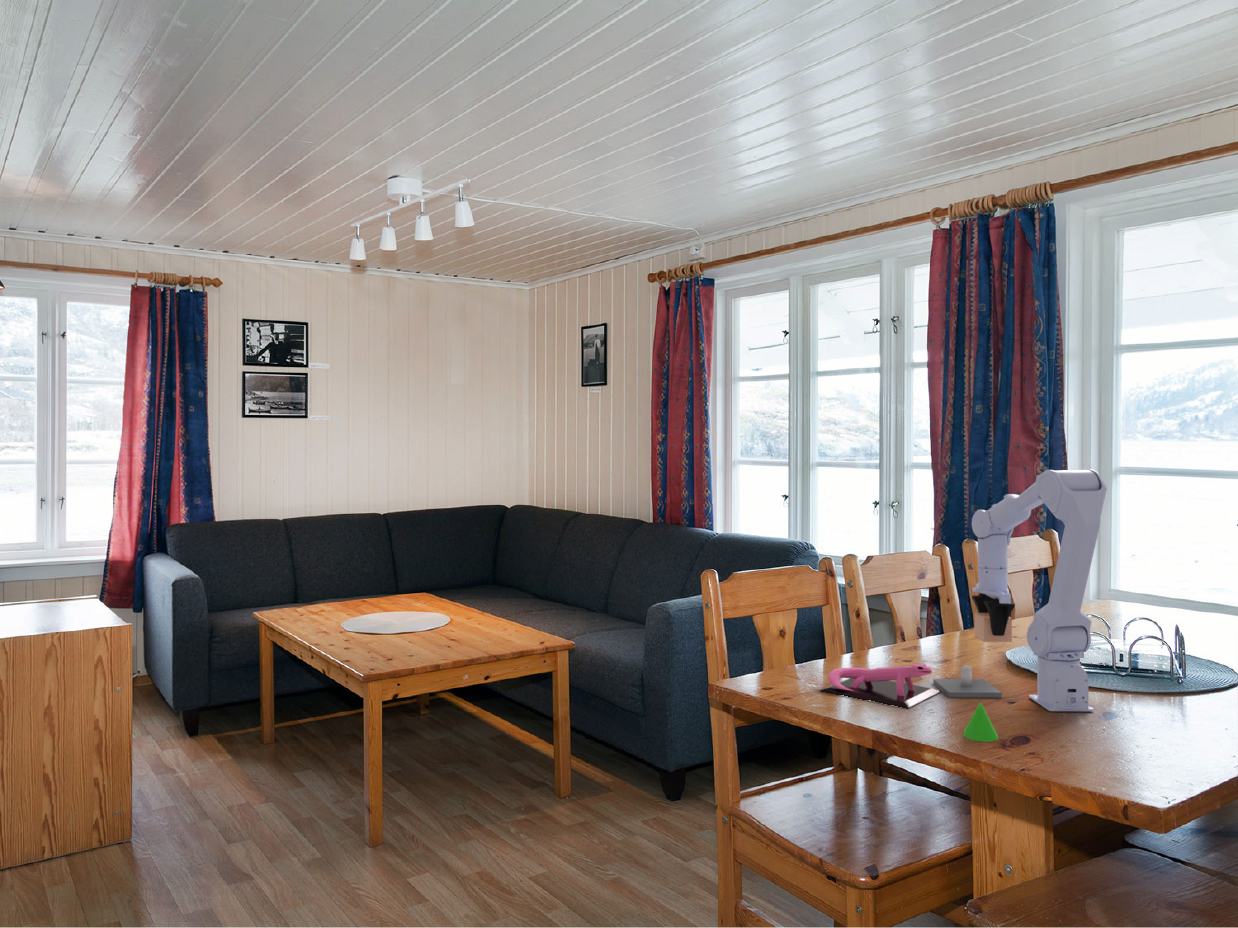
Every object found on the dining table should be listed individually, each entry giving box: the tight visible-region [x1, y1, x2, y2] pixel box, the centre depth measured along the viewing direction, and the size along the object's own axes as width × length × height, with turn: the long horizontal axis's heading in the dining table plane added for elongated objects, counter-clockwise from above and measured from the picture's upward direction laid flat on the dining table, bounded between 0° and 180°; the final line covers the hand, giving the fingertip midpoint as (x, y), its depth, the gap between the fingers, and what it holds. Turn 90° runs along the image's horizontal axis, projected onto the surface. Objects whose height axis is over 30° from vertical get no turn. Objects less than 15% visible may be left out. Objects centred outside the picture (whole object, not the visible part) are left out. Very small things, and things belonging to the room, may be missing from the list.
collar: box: [974, 612, 1013, 643], centre depth 188 cm, size 6×6×5 cm
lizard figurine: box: [819, 663, 942, 710], centre depth 177 cm, size 15×20×7 cm
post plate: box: [932, 664, 1003, 699], centre depth 178 cm, size 10×10×5 cm
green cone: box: [962, 701, 999, 743], centre depth 151 cm, size 6×6×6 cm
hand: (992, 632), depth 188 cm, fingers closed on collar, 6 cm apart
